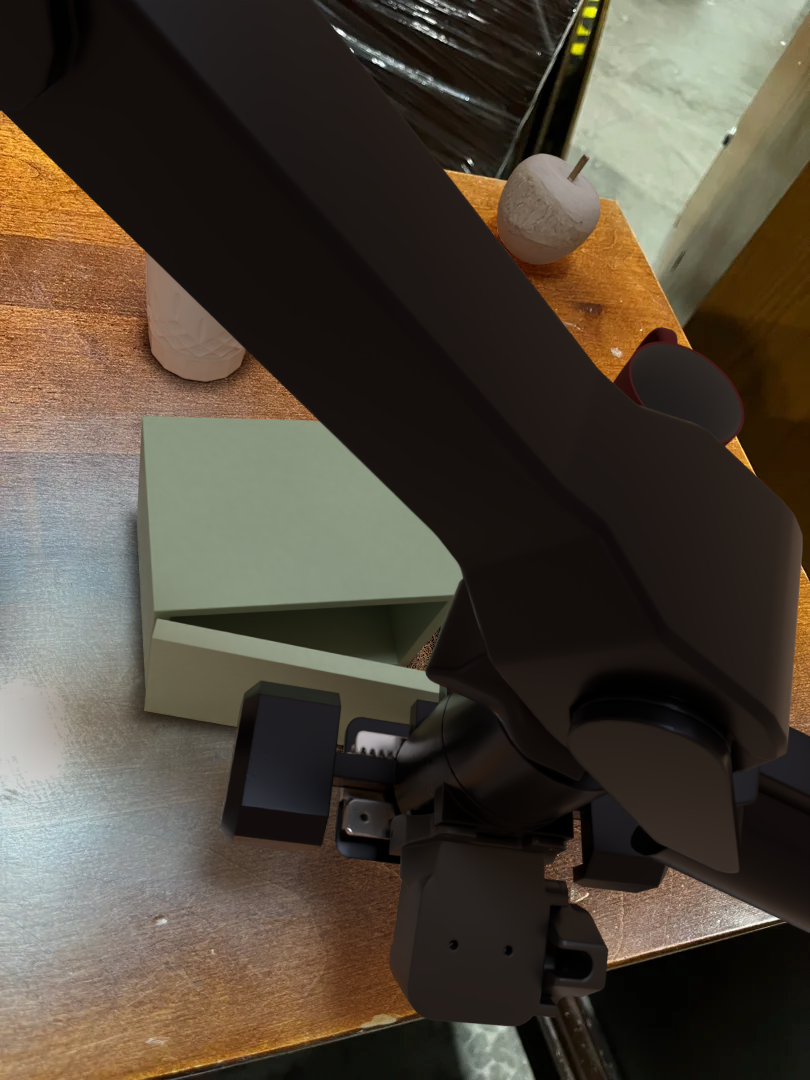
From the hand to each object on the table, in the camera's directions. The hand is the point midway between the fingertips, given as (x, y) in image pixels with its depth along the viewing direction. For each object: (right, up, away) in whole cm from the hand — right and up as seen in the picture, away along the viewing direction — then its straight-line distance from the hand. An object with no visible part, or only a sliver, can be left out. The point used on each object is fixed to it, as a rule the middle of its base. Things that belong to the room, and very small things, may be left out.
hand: (401, 828), depth 41 cm
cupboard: (-8, +11, +9) cm, 17 cm away
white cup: (-15, +28, +17) cm, 36 cm away
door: (-7, +2, +4) cm, 8 cm away
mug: (+16, +21, +24) cm, 35 cm away
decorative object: (+11, +41, +35) cm, 55 cm away
